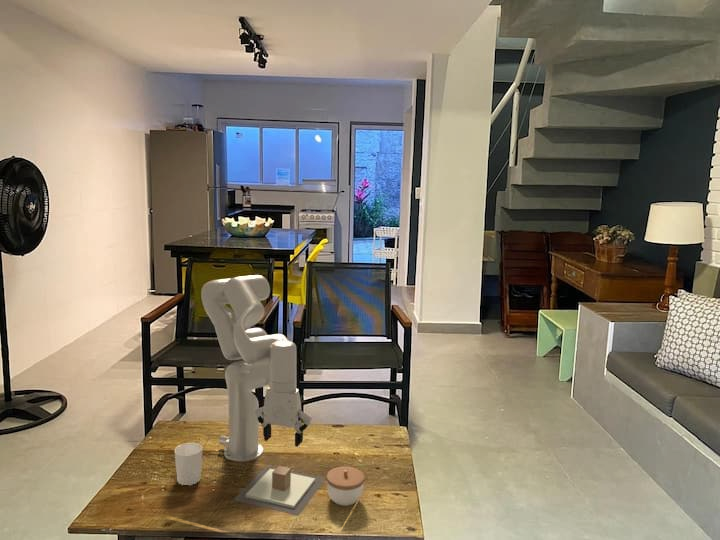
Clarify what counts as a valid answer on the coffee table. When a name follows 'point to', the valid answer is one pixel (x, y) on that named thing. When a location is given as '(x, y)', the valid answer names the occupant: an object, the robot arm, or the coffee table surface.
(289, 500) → the lid sheet
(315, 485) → the mat
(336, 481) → the lidded jar
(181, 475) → the white cup
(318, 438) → the coffee table surface
